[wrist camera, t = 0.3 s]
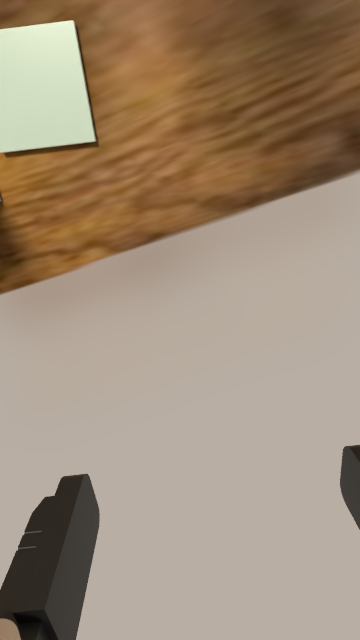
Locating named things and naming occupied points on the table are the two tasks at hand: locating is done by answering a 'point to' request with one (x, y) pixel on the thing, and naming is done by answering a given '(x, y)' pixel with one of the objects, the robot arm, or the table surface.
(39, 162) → the table surface
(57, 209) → the table surface
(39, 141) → the pad
